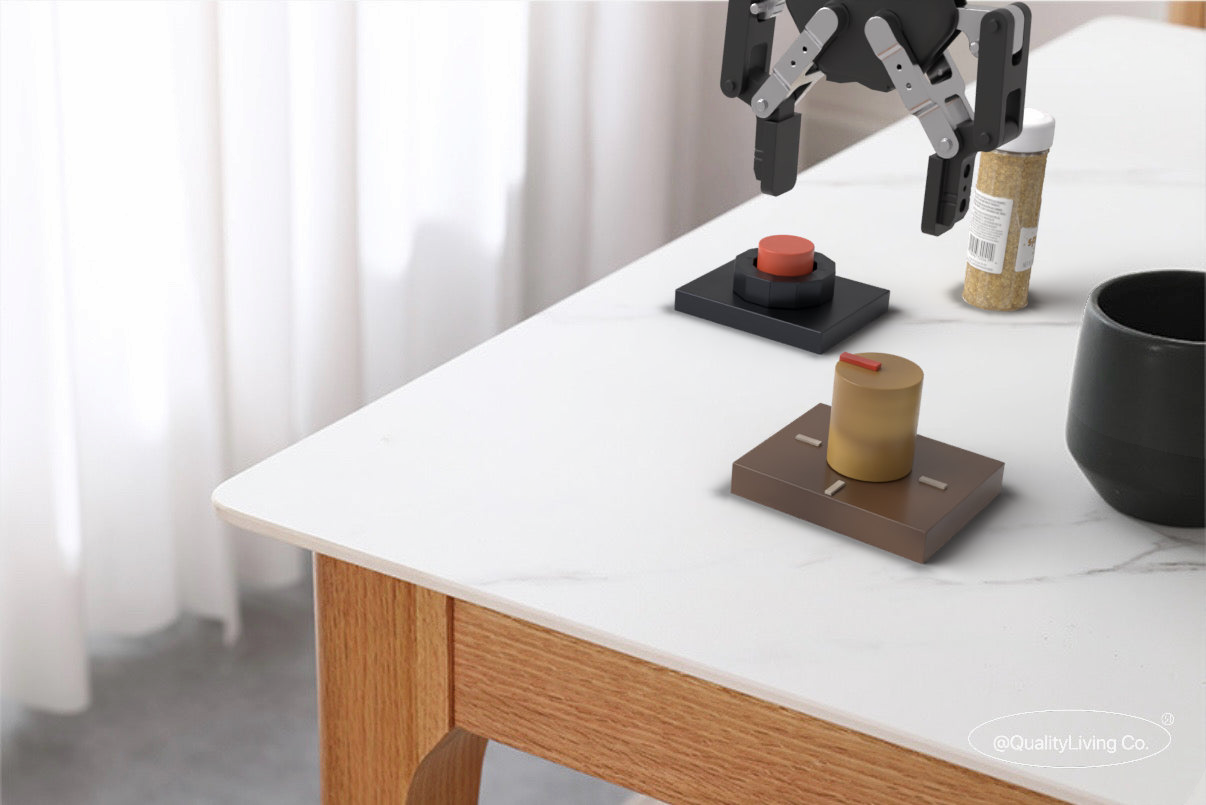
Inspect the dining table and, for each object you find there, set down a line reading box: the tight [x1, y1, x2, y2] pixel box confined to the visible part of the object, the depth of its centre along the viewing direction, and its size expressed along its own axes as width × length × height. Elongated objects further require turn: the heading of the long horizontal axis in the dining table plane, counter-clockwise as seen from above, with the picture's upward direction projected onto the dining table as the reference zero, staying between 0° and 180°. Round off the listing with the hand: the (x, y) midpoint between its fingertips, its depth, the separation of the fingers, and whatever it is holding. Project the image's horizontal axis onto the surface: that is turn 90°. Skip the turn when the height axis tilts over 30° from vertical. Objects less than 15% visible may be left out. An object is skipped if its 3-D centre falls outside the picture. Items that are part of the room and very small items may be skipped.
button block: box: [674, 247, 891, 355], centre depth 102 cm, size 11×9×4 cm
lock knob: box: [827, 351, 925, 482], centre depth 79 cm, size 4×4×6 cm
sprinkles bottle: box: [961, 106, 1056, 312], centre depth 103 cm, size 5×5×13 cm
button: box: [757, 234, 816, 276], centre depth 101 cm, size 4×4×2 cm
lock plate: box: [730, 402, 1006, 565], centre depth 81 cm, size 11×9×3 cm
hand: (855, 210), depth 73 cm, fingers open, 8 cm apart
